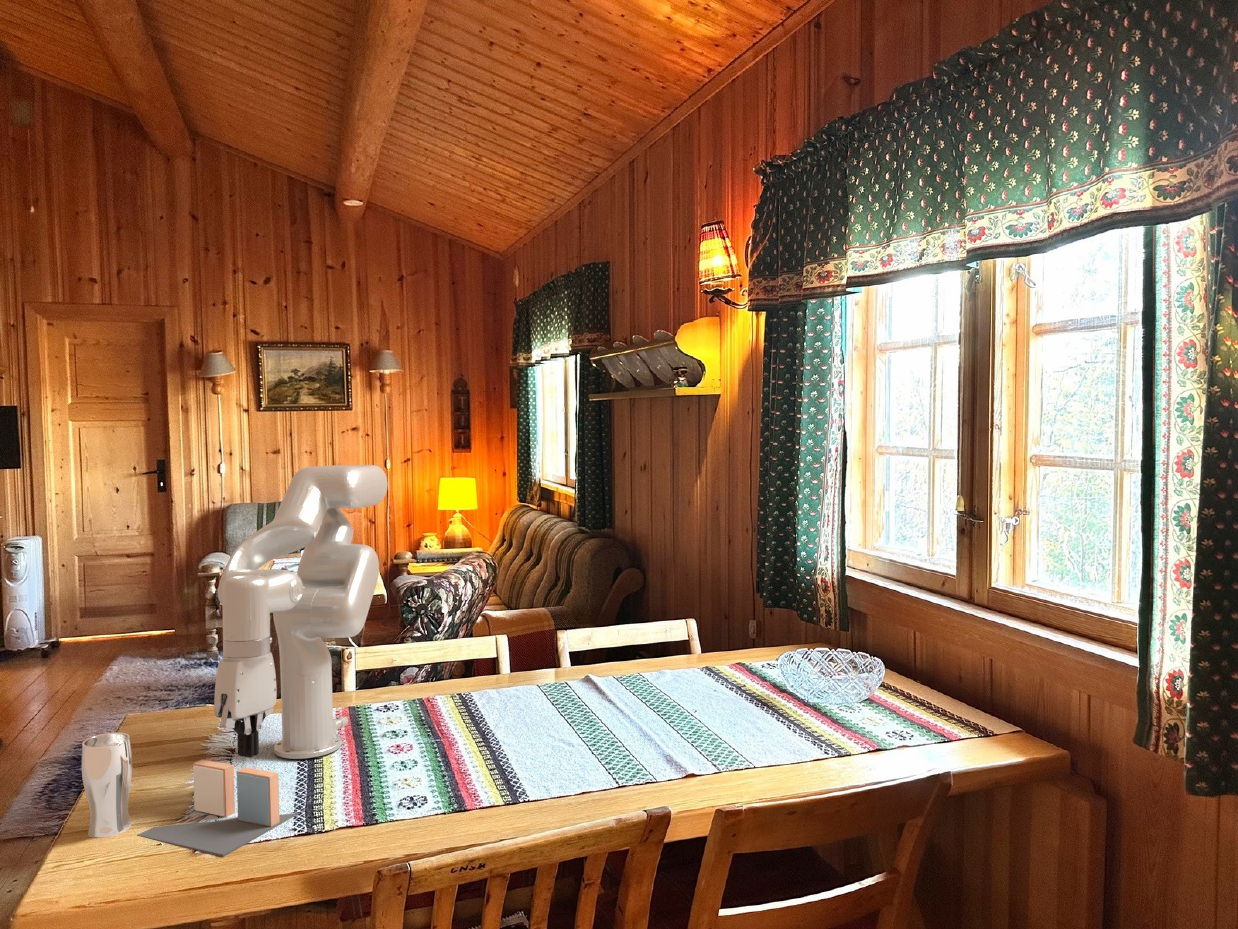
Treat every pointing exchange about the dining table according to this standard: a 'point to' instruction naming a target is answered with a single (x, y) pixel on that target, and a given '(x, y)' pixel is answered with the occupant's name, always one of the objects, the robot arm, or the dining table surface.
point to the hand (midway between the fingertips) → (248, 755)
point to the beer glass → (107, 782)
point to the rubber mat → (212, 834)
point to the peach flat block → (258, 796)
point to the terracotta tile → (214, 788)
